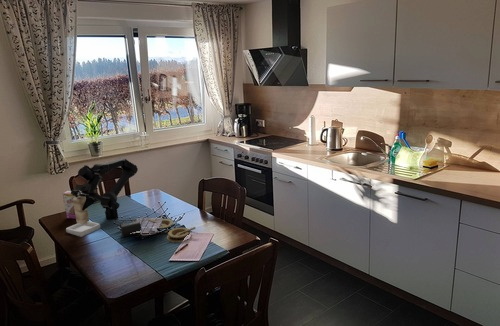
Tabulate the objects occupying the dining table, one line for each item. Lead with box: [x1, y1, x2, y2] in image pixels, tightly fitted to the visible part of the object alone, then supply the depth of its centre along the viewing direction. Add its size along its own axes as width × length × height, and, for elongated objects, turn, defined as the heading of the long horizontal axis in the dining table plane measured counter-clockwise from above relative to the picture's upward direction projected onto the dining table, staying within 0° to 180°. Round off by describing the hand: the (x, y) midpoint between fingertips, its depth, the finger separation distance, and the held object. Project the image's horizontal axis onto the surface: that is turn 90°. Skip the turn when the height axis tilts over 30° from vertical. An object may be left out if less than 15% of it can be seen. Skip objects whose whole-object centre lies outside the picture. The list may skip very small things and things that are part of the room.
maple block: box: [73, 196, 90, 224], centre depth 207 cm, size 4×4×14 cm
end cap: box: [119, 220, 142, 238], centre depth 204 cm, size 10×7×7 cm
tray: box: [65, 220, 101, 238], centre depth 212 cm, size 13×13×2 cm
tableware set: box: [147, 218, 196, 243], centre depth 206 cm, size 30×20×6 cm, turn 44°
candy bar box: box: [62, 190, 81, 220], centre depth 229 cm, size 11×5×16 cm, turn 80°
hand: (79, 209), depth 206 cm, fingers closed on maple block, 4 cm apart
